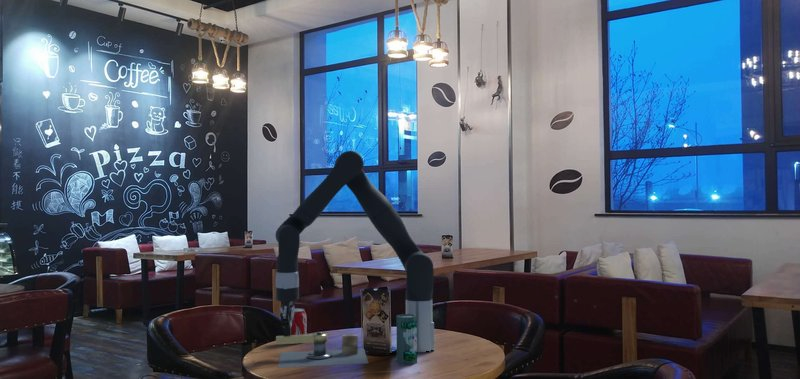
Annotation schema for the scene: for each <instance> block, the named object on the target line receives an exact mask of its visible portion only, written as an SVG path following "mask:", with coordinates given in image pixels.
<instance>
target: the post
mask: <svg viewBox="0 0 800 379" xmlns="http://www.w3.org/2000/svg"><path fill="white" fill-rule="evenodd" d="M326 350H327V341H326V342H322V343H315V342H313V351H314V352H311V353H309V354H308V358H309V359H313V360H324V359H329V358H331V357H332V353H331V352H327V351H326Z"/></svg>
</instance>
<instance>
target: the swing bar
mask: <svg viewBox="0 0 800 379" xmlns="http://www.w3.org/2000/svg"><path fill="white" fill-rule="evenodd" d="M314 342H315V343H322V342H326V343H327V342H328V333H326V332H322V331H317V332H315V333H307V334H303V335H286V336H284V335H276V336H275V344H276V345H291V344H293V343H299V344H306V343H307V344H309V343H314ZM293 345H294V344H293Z"/></svg>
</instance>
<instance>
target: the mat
mask: <svg viewBox="0 0 800 379" xmlns="http://www.w3.org/2000/svg"><path fill="white" fill-rule="evenodd" d="M326 351H327V352H331V353H332V357H331V358H329V359H324V360H313V359H309V358H308V354H309V353H311V352H314V350H310V351H309V350H306V351H303V350H302V351H288V352H287V351H286V352H285V351H284V352H283V351H282V352H280V353H279V360H278V364H277V368H278V369H280V368H297V367H298V368H299V367H320V366H323V367H325V366H343V365H362V364H369V361H368V357H367V355H366V353H365V349H364V348H358V354H344V355H343V354H342V349H329V350H327V349H326Z"/></svg>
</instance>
